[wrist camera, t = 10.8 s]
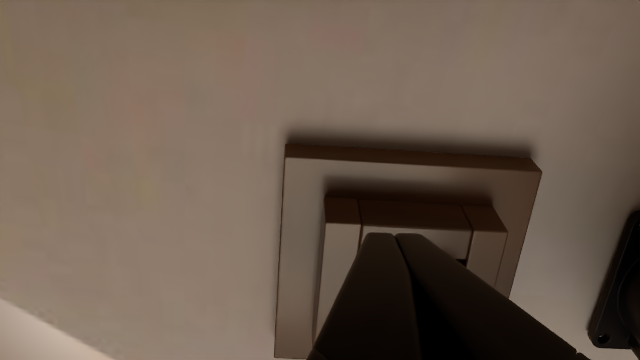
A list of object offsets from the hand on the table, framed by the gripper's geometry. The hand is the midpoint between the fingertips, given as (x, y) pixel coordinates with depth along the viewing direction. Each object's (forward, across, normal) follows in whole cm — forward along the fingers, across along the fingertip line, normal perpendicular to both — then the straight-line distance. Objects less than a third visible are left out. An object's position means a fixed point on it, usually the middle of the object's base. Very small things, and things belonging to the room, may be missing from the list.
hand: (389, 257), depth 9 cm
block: (+12, -3, +8) cm, 14 cm away
